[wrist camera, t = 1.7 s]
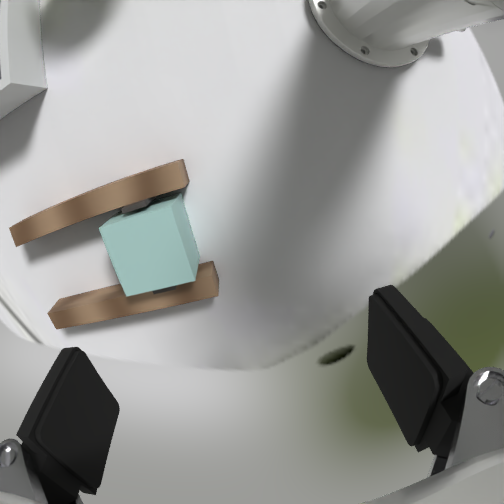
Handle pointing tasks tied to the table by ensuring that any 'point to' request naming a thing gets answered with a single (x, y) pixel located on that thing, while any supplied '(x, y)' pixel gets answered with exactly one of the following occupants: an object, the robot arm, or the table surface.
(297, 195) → the table surface
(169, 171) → the wooden rail pair
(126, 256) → the block
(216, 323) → the table surface
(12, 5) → the holder
